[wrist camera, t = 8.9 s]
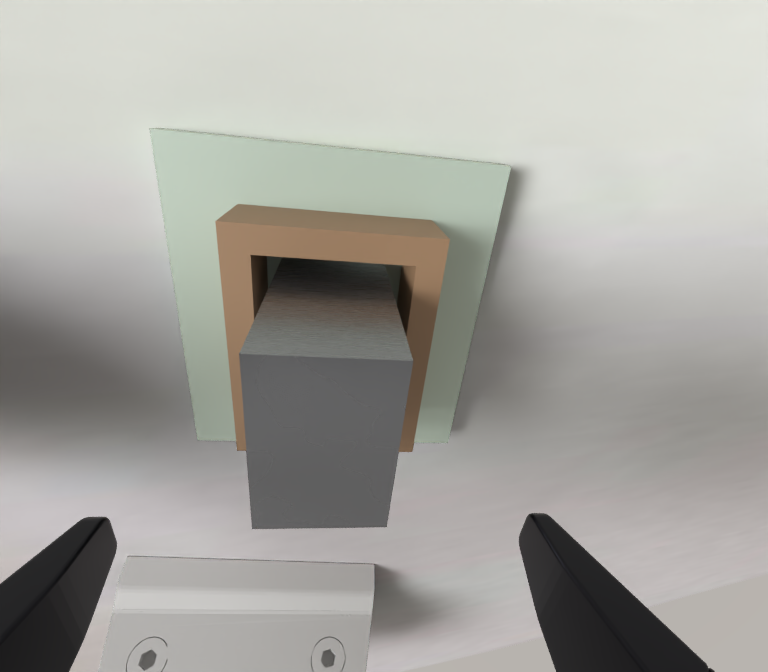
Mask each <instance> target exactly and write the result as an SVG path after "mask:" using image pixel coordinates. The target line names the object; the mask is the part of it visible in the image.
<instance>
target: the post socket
mask: <svg viewBox="0 0 768 672" xmlns="http://www.w3.org/2000/svg"><path fill="white" fill-rule="evenodd" d="M150 136H151V142H152V149H153V155H154V162H155V168H156V175H157V181H158V188H159V194H160V201H161V207H162V214H163V220H164V227H165V233H166V240H167V246H168V252H169V259H170V265H171V272H172V278H173V285H174V291H175V298H176V304H177V311H178V317H179V324H180V330H181V337H182V343H183V350H184V356H185V363H186V369H187V376H188V382H189V389H190V395H191V402H192V408H193V414H194V421H195V427H196V434H197V440H205V441H236V444H237V451H246V439H245V426H244V413H243V399H242V386H241V373H240V360H239V353H240V351H241V348H242V346H243V344H244V342H245V339H246V337H247V335H248V333H249V331H250V328H251V326H252V324H253V322H254V319H255V317H256V315H257V313H258V310H259V308H260V306H261V304H262V302H263V299H264V297H265V295H266V293H267V290H268V288H269V286H270V284H271V281H272V279H273V277H274V275H275V273H276V270H277V268H278V266H279V264H280V261H281V259H282V257H289V258H303V259H318V260H333V261H347V262H362V263H376V264H385V268H386V271H387V274H388V278H389V281H390V284H391V288H392V291H393V294H394V298H395V301H396V304H397V308H398V311H399V315H400V318H401V321H402V325H403V328H404V331H405V335H406V338H407V341H408V345H409V348H410V351H411V355H412V358H413V366H412V372H411V379H410V385H409V391H408V397H407V403H406V410H405V416H404V422H403V428H402V434H401V441H400V447H399V452H412V451H413V445H414V443H448V440H449V436H450V432H451V427H452V423H453V418H454V414H455V410H456V405H457V401H458V397H459V392H460V388H461V384H462V379H463V375H464V371H465V366H466V362H467V357H468V353H469V349H470V344H471V340H472V336H473V331H474V327H475V323H476V318H477V314H478V309H479V305H480V301H481V296H482V292H483V288H484V283H485V279H486V275H487V270H488V266H489V262H490V257H491V253H492V248H493V244H494V240H495V235H496V231H497V227H498V222H499V218H500V214H501V209H502V205H503V200H504V196H505V192H506V187H507V183H508V179H509V174H510V170H511V166H508V165H504V164H497V163H487V162H478V161H468V160H459V159H449V158H440V157H430V156H421V155H411V154H402V153H392V152H383V151H373V150H364V149H354V148H345V147H335V146H326V145H316V144H307V143H297V142H288V141H278V140H269V139H259V138H249V137H240V136H230V135H221V134H211V133H202V132H192V131H183V130H173V129H164V128H151V129H150Z"/></svg>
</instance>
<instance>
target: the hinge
mask: <svg viewBox="0 0 768 672" xmlns="http://www.w3.org/2000/svg"><path fill="white" fill-rule="evenodd" d="M374 590H375V575H374V564H352V563H321V562H291V561H260V560H229V559H199V558H168V557H138V556H128V557H127V559H126V562H125V565H124V567H123V570H122V573H121V575H120V578H119V581H118V583H117V588H116V593H115V600H114V607H113V612H112V616H111V621H110V625H109V629H108V633H107V637H106V641H105V645H104V649H103V653H102V658H101V662H100V666H99V670H98V672H366V666H367V657H368V647H369V638H370V629H371V619H372V610H373V600H374Z"/></svg>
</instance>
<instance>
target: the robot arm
mask: <svg viewBox="0 0 768 672" xmlns="http://www.w3.org/2000/svg"><path fill="white" fill-rule="evenodd" d="M519 546H520V551H521V555H522V558H523V562H524V566H525V570H526V574H527V578H528V582H529V586H530V590H531V594H532V598H533V602H534V606H535V610H536V613H537V617H538V620H539V623H540V627H541V630H542V633H543V635H544V638H545V641H546V643H547V647H548V649H549V652H550V655H551V658H552V661H553V664H554V667H555V669H556V672H714V670H712V669H711V668H708V666H707V664H706V663H705V662H704V661H703V660H701V658H699V657H698V656H697V655H696V654H695V653H694V652H693V651H692V650H691V649H690V648H689V647H688V646H687V645H686V644H685V643H684V642H683V641H681V640H680V639H679V638H678V637H677V636H676V635H675V634H674V633H673V632H672V631H671V630H670V629H669V628H668V627H667V626H666V625H664V624H663V623H662V622H661V621H660V620H659V619H658V618H657V617H656V616H655V615H654V614H653V613H652V612H651V611H649V609H648V608H647V607H645V606H644V605H643V604H642V603H641V602H640V601H639V600H638V599H637V598H636V597H635V596H634V595H633V594H632V593H631V592H630V591H629V590H627V589H626V588H625V587H624V586H623V585H622V584H621V583H620V582H619V581H618V580H617V579H616V578H615V577H614V576H613V575H612V574H611V573H609V572H608V571H607V570H606V569H605V568H604V567H603V566H602V565H601V564H600V563H599V562H598V561H597V560H596V559H595V558H594V557H592V556H591V555H590V554H589V553H588V552H587V551H586V550H585V549H584V548H583V547H582V546H581V545H580V544H579V543H578V542H577V541H576V540H574V539H573V538H572V537H571V536H570V535H569V534H568V533H567V532H566V531H565V530H564V529H563V528H562V527H561V526H560V525H559V524H558V523H556V522H555V521H554V520H553V519H552V518H551V517H550V516H549V515H547V514H544V513H531V514H529V515H528V516H527V518H526V520H525V523H524V525H523V528H522V530H521V533H520V536H519ZM116 549H117V542H116V538H115V535H114V532H113V529H112V526H111V523H110V520H109V519H108V518H107V517H86V518H84V519H82V520H80V521H79V522H78V523H76V524H75V525H74V526H73V527H71V528H70V529H69V530H67V531H66V532H65V533H64V534H62V535H61V536H60V537H59V538H57V539H56V540H55V541H54V542H52V543H51V544H50V545H49V546H47V547H46V548H45V549H44V550H42V551H41V552H40V553H39V554H37V555H36V556H35V557H33V558H32V559H31V560H30V561H28V562H27V563H26V564H25V565H23V566H22V567H21V568H20V569H18V570H17V571H16V572H15V573H13V574H12V575H11V576H10V577H8V578H7V579H6V580H5V581H3V582H2V583H1V584H0V672H69V670H70V668H71V666H72V664H73V662H74V660H75V658H76V656H77V654H78V651H79V649H80V647H81V645H82V642H83V640H84V638H85V635H86V633H87V630H88V628H89V625H90V622H91V620H92V617H93V614H94V612H95V609H96V606H97V603H98V601H99V598H100V595H101V592H102V590H103V587H104V584H105V581H106V579H107V576H108V573H109V570H110V568H111V565H112V562H113V559H114V557H115V554H116Z"/></svg>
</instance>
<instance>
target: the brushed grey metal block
mask: <svg viewBox="0 0 768 672" xmlns="http://www.w3.org/2000/svg"><path fill="white" fill-rule="evenodd" d="M239 360H240V373H241V386H242V399H243V413H244V426H245V439H246V453H247V466H248V479H249V492H250V506H251V519H252V529H285V528H357V527H387V521H388V515H389V509H390V502H391V496H392V490H393V484H394V478H395V471H396V465H397V459H398V453H399V447H400V441H401V434H402V428H403V422H404V416H405V410H406V403H407V397H408V391H409V385H410V379H411V372H412V366H413V358H412V355H411V351H410V348H409V345H408V341H407V338H406V335H405V331H404V328H403V325H402V321H401V318H400V315H399V311H398V308H397V304H396V301H395V298H394V294H393V291H392V288H391V284H390V281H389V278H388V274H387V271H386V268H385V264H376V263H362V262H347V261H333V260H318V259H303V258H289V257H282V259H281V261H280V264H279V266H278V268H277V270H276V273H275V275H274V277H273V279H272V281H271V284H270V286H269V288H268V290H267V293H266V295H265V297H264V299H263V302H262V304H261V306H260V308H259V310H258V313H257V315H256V317H255V319H254V322H253V324H252V326H251V328H250V331H249V333H248V335H247V337H246V339H245V342H244V344H243V346H242V348H241V351H240V353H239Z"/></svg>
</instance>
